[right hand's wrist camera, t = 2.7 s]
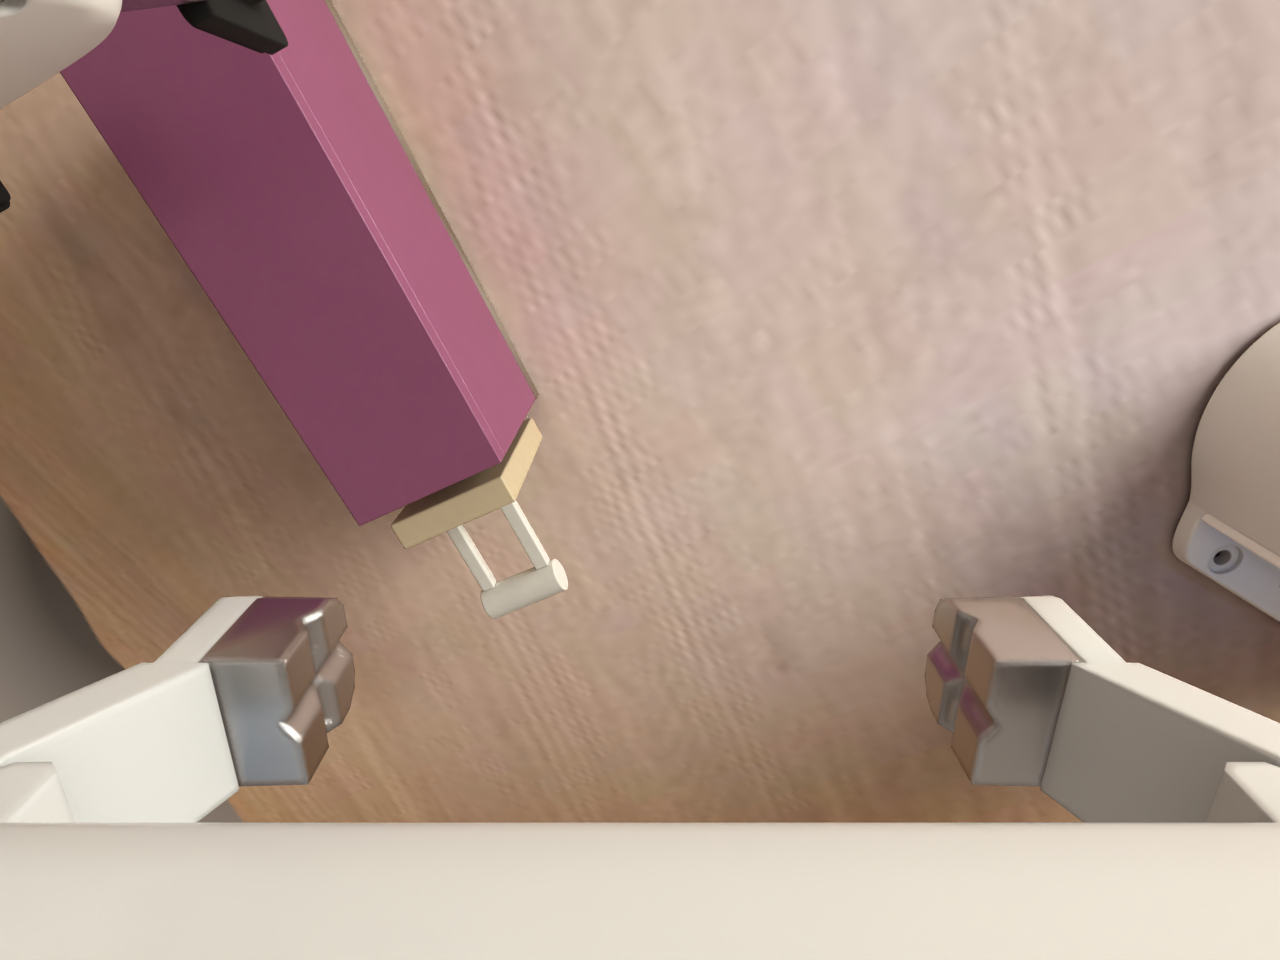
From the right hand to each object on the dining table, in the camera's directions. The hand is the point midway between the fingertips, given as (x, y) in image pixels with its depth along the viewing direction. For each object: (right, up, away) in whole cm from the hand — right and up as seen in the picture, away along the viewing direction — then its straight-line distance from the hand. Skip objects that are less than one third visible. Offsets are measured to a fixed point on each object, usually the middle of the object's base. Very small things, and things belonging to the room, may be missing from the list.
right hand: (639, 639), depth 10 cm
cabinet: (-12, +13, +24) cm, 30 cm away
